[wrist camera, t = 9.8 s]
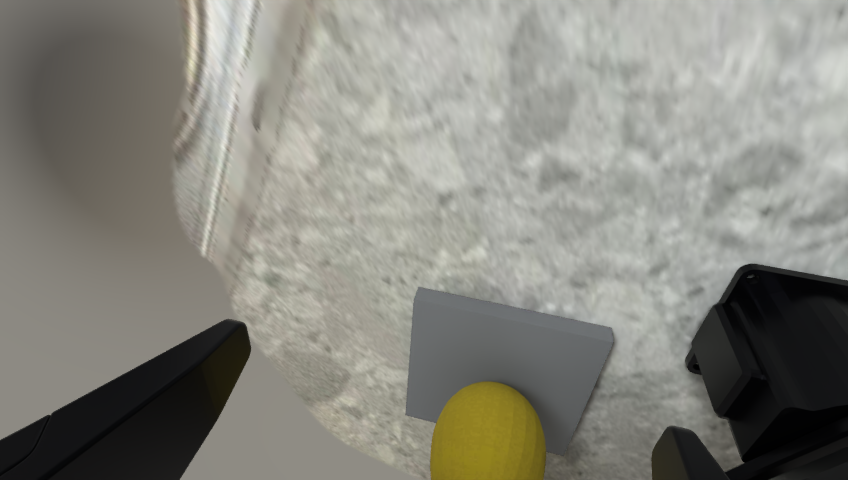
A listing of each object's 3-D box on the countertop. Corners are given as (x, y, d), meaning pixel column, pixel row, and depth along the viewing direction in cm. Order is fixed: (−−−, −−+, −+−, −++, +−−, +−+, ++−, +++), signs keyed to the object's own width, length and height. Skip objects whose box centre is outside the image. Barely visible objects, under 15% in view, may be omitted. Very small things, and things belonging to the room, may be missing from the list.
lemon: (503, 427, 27) (486, 579, 21) (430, 379, 27) (389, 522, 20) (569, 389, 24) (573, 554, 18) (489, 333, 23) (462, 486, 17)
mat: (611, 327, 23) (613, 342, 22) (563, 441, 28) (563, 456, 27) (418, 286, 24) (413, 298, 23) (409, 402, 30) (405, 415, 29)
